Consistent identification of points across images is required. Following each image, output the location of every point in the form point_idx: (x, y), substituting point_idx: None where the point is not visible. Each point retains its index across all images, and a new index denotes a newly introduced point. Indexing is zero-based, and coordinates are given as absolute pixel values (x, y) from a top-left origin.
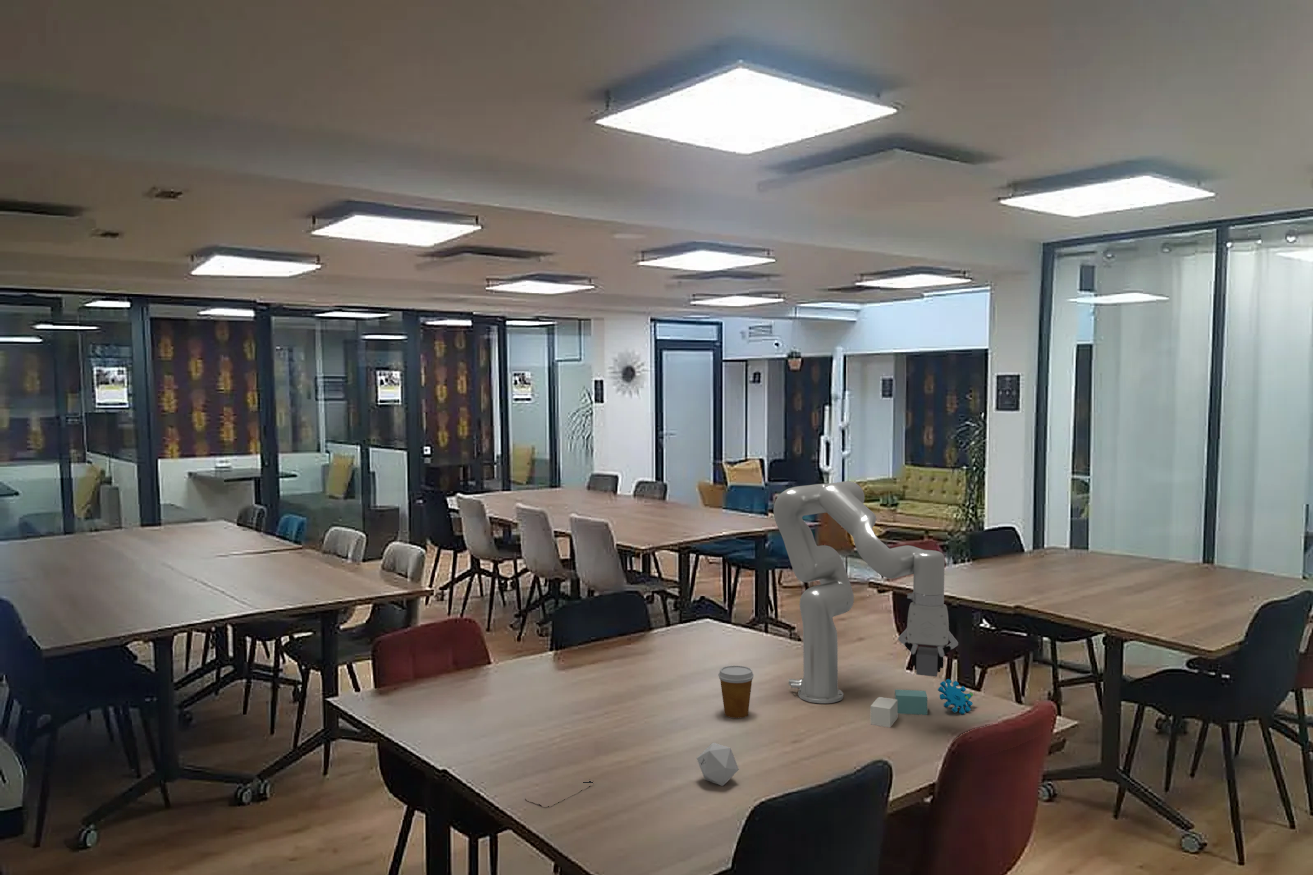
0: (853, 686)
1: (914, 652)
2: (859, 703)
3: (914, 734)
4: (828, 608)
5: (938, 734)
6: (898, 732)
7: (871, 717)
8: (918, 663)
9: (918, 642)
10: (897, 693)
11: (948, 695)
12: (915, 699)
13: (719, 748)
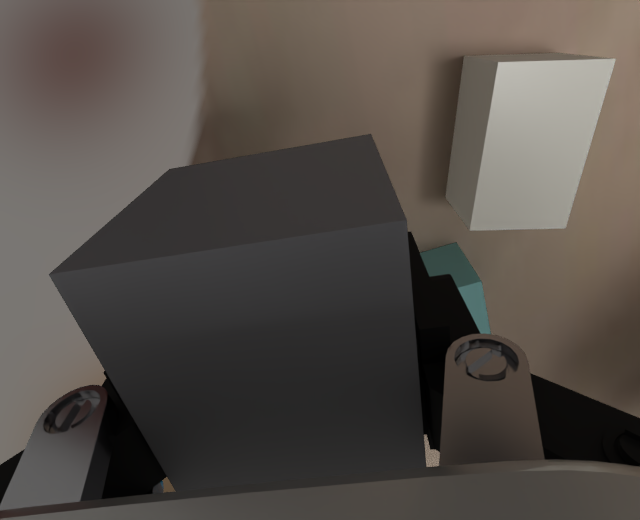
0: (622, 410)
1: (459, 365)
2: (606, 279)
3: (339, 18)
4: None
5: (241, 78)
6: (416, 5)
7: (573, 54)
8: (355, 173)
9: (433, 509)
10: (478, 305)
11: None
12: None
13: None
